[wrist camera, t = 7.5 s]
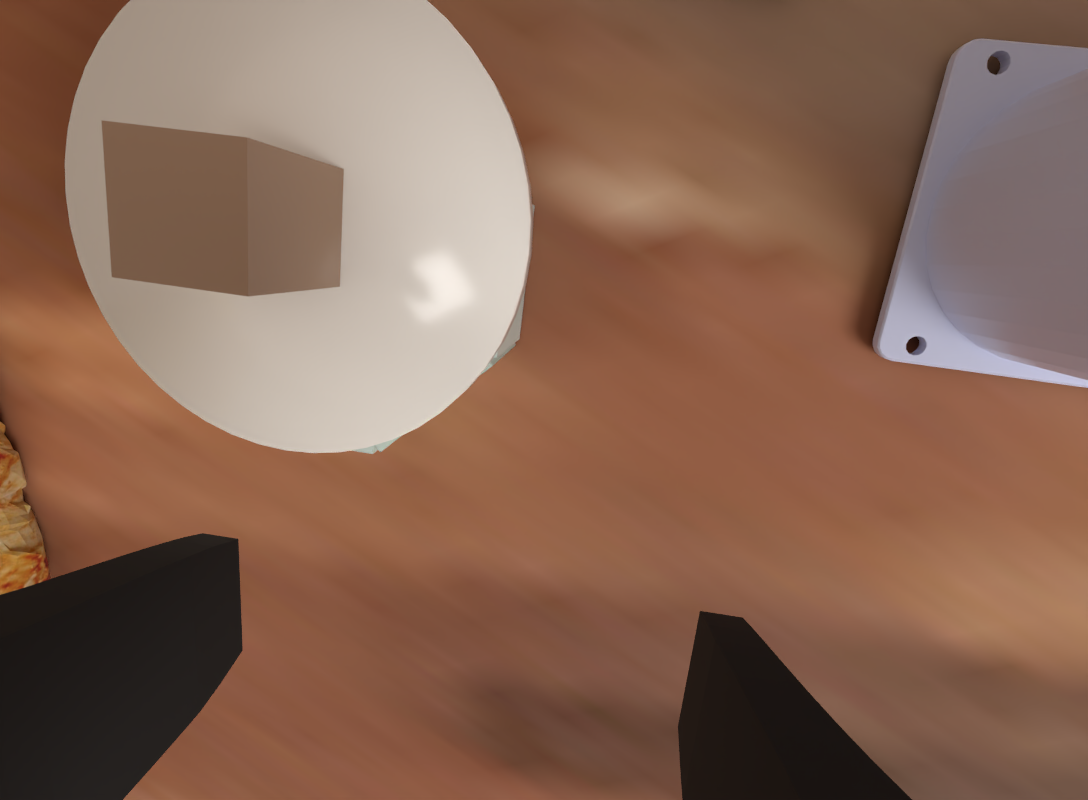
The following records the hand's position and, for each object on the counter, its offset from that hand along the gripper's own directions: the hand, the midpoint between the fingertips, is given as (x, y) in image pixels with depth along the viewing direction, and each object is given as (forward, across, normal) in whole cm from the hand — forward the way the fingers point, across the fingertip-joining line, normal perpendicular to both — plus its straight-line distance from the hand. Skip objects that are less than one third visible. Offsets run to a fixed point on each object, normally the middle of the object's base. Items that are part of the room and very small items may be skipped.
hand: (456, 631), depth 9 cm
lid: (+6, +6, -6) cm, 10 cm away
